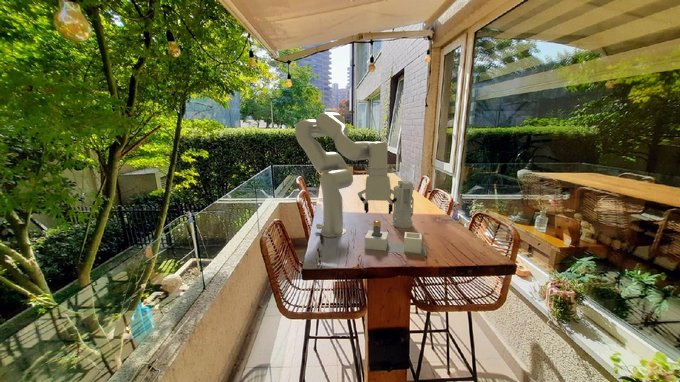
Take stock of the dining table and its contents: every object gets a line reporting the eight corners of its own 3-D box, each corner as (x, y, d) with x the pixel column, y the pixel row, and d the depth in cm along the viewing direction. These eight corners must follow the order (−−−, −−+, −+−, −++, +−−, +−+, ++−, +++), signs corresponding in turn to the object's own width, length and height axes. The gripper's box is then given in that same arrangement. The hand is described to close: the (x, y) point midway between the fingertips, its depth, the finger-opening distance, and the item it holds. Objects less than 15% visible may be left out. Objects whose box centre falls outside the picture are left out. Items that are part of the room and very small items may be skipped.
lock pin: (372, 246, 115) (373, 222, 112) (373, 243, 117) (374, 220, 115) (379, 247, 114) (380, 222, 111) (380, 244, 117) (381, 220, 114)
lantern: (391, 222, 149) (392, 178, 144) (410, 222, 148) (411, 177, 143) (395, 230, 136) (396, 182, 131) (415, 230, 136) (417, 182, 130)
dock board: (361, 251, 113) (362, 235, 111) (366, 242, 122) (366, 227, 120) (426, 258, 105) (427, 241, 104) (425, 247, 115) (426, 232, 113)
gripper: (355, 173, 108) (356, 214, 111) (399, 173, 103) (398, 216, 106) (359, 171, 115) (360, 209, 118) (400, 171, 110) (399, 211, 113)
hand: (378, 212), depth 112 cm, fingers open, 9 cm apart
